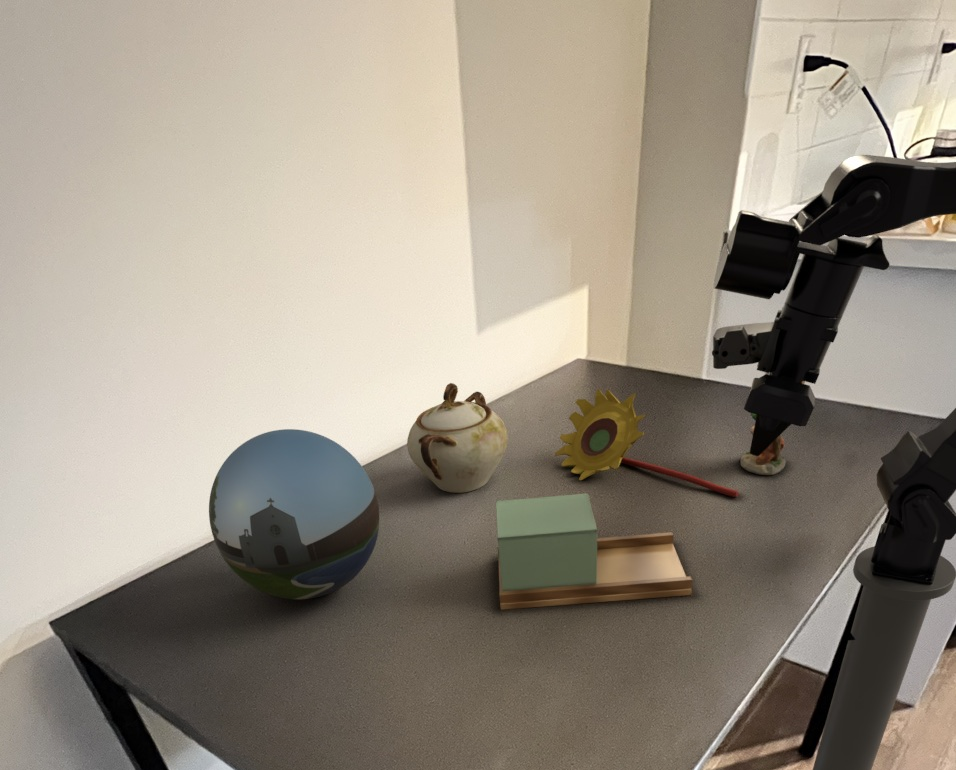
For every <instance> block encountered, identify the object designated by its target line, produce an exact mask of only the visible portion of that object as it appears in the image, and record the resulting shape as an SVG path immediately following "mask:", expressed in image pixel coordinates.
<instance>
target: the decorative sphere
mask: <svg viewBox="0 0 956 770" xmlns="http://www.w3.org/2000/svg"><path fill="white" fill-rule="evenodd" d="M208 501H209V502H208V516H209V517H208V518H209V519H208V520H209V525H210V531H211V534H212V537H213V540H214V543H215V545H216V547H217V549H218V551H219V554H220V555H221V556H222V558H223V560H224V562H226V564H227V565H228V567H230V569H231V570H232V571H233V572H234V573H235V574H236V575H237V576H238V577H239V578H241V579H242V580H243V582H246V583H247V584H248V585H250V586H252V587H253V588H255V589H257V590H258V591H260V592H262V593H265V594H268V595H271V596H274V597H277V598H282V599H287V600H309V599H315V598H320V597H324V596H326V595H329V594H332V593H333V592H336V591H338V590H340V589H341V588H343V587H345V586H346V585H347V584H349V583H350V582H351V581H352V580H354V579H355V578H356V576H358V575H359V573H360V572H361V571H362V570H363V569H364V567H365V566H366V564H367V563H368V561H369V560H370V558H371V556H372V554H373V551H374V549H375V546H376V544H377V540H378V536H379V530H380V508H379V501H378V498H377V493H376V491H375V487H374V485H373V482H372V480H371V479H370V476H369V475H368V473H367V471H366V470H365V469H364V467H363V466H362V464H361V463H360V462H359V461H358V460H357V458H356V457H355V456H353V454H352V453H351V452H350V451H348V450H347V449H346V448H345V447H344V446H342V445H341V444H340V443H338V442H336V441H334V440H332V439H331V438H329V437H328V436H327V437H326V436H325V435H322V434H320V433H316V432H312V431H308V430H303V429H295V428H286V429H276V430H271V431H267V432H263V433H260V434H258V435H256V436H254V437H252V438H249V439H248V440H247V441H245V442H243V443H242V444H240V445H239V446H238V447H236V448H235V449H234V450H233V451H232V452H231V453H230V454H229V456H227V458H225V460H224V461H223V462H222V464H221V466H220V467H219V469H218V471H217V473H216V475H215V477H214V480H213V483H212V486H211V489H210V493H209V500H208Z"/></svg>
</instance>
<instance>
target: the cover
mask: <svg viewBox="0 0 956 770" xmlns="http://www.w3.org/2000/svg"><path fill="white" fill-rule="evenodd" d="M495 510H496V512H495V513H496V533H497V536H496V537H497V550H498V549H499V561H500V572H501V584H502V591H511V590H524V589H536V588H549V587H561V586H574V585H586V584H597V538H598V528H597V523H596V520H595V516H594V511H593V508H592V505H591V500H590V495H589V493H588V492H587V493H577V494H575V493H574V494H563V495H552V496H541V497H529V498H518V499H506V500H497V501H495Z"/></svg>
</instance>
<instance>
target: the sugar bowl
mask: <svg viewBox="0 0 956 770" xmlns="http://www.w3.org/2000/svg"><path fill="white" fill-rule="evenodd" d="M458 389H459V388H458V386H457V385H456V384H455V383H453V382H450V383H448V384H447V385H446V386H445V389H444V391H443V396H442V398H443V402H442V403H440V404H438V405H437V404H436V405H435V406H432V407H430V408H428V409H426V410H423V411H422V412H421V413H420V414H419V415H418V416H417V418H416V420H415V421H414V423H413V424H412V426H411V427H410V429H409V432H408V436H407V440H406V447H407V452H408V455H409V457H410V459H411V461H412V462H413V464H414V465H415V466H416V467H417V469H419V470H420V472H421V473H422V474H423V475H424V476H426V477H427V478H428V479H429V480H430V481H431V482H432V483H433V484H434V485H436V487H437V488H438V489H440V490H441V491H444V492H447V493H453V494H454V493H457V494H459V493H468V492H469V493H470V492H472V491H475V490H478V489H480V488H482V487H484V486H485V485H486V484H487V483H488V482H489V480H490V478H491V477H492V475H493V474H494V472H495V471H496V469H497V467H498V466H499V464H500V462H501V461H502V458H503V456H504V455H505V452H506V449H507V446H508V440H509V439H508V438H509V436H508V430H507V427H506V425H505V422H504V421H503V419H502V418H501V417H500V416H499V415H498V414H497V413H496V412H495V411H493V410H492V409H491V408H490V407H489V406H488V405H487V401H486V398H485V396H484V394H483V392H481V391H474V392H473V393H471V394H470V395H469V396H468V397H467V398H466V399H464V400H456V398H457V395H458V392H459V390H458ZM473 401H474V402H473Z"/></svg>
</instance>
